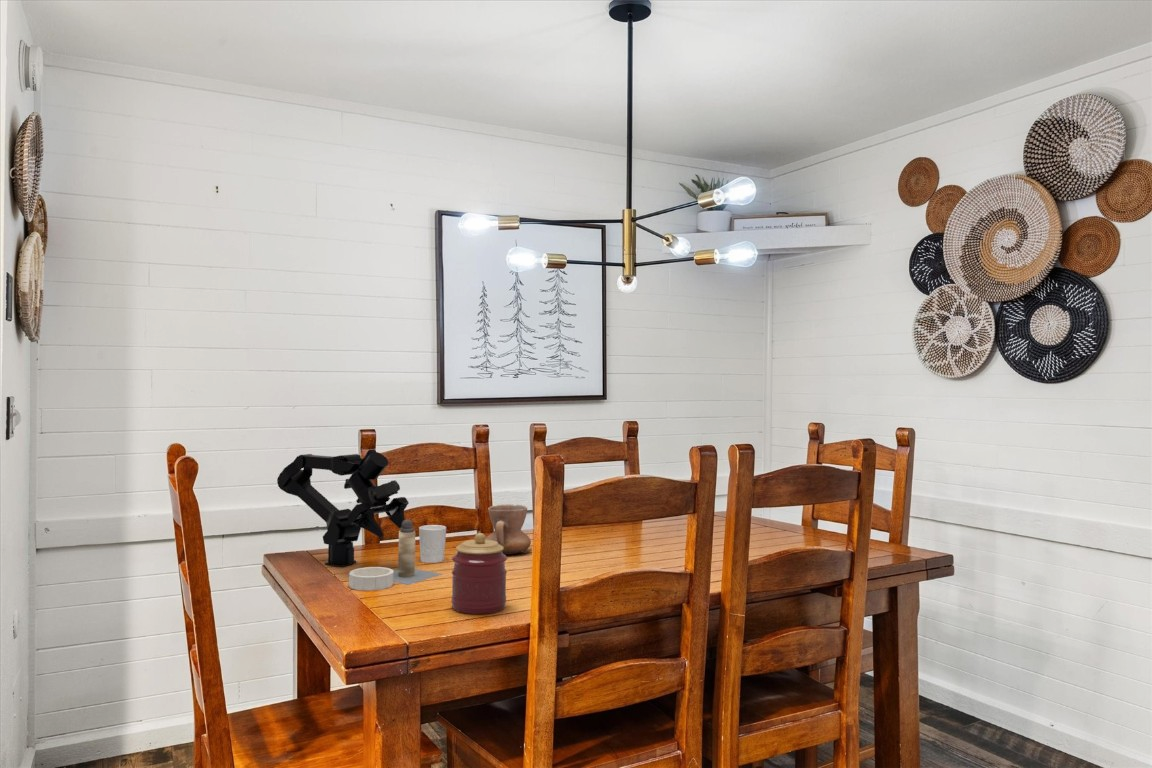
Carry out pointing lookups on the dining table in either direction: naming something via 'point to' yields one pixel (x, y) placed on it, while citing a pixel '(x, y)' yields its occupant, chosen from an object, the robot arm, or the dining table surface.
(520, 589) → the dining table surface
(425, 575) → the felt mat
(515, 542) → the ceramic jug
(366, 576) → the bowl
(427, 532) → the white cup
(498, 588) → the canister
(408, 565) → the pepper mill
